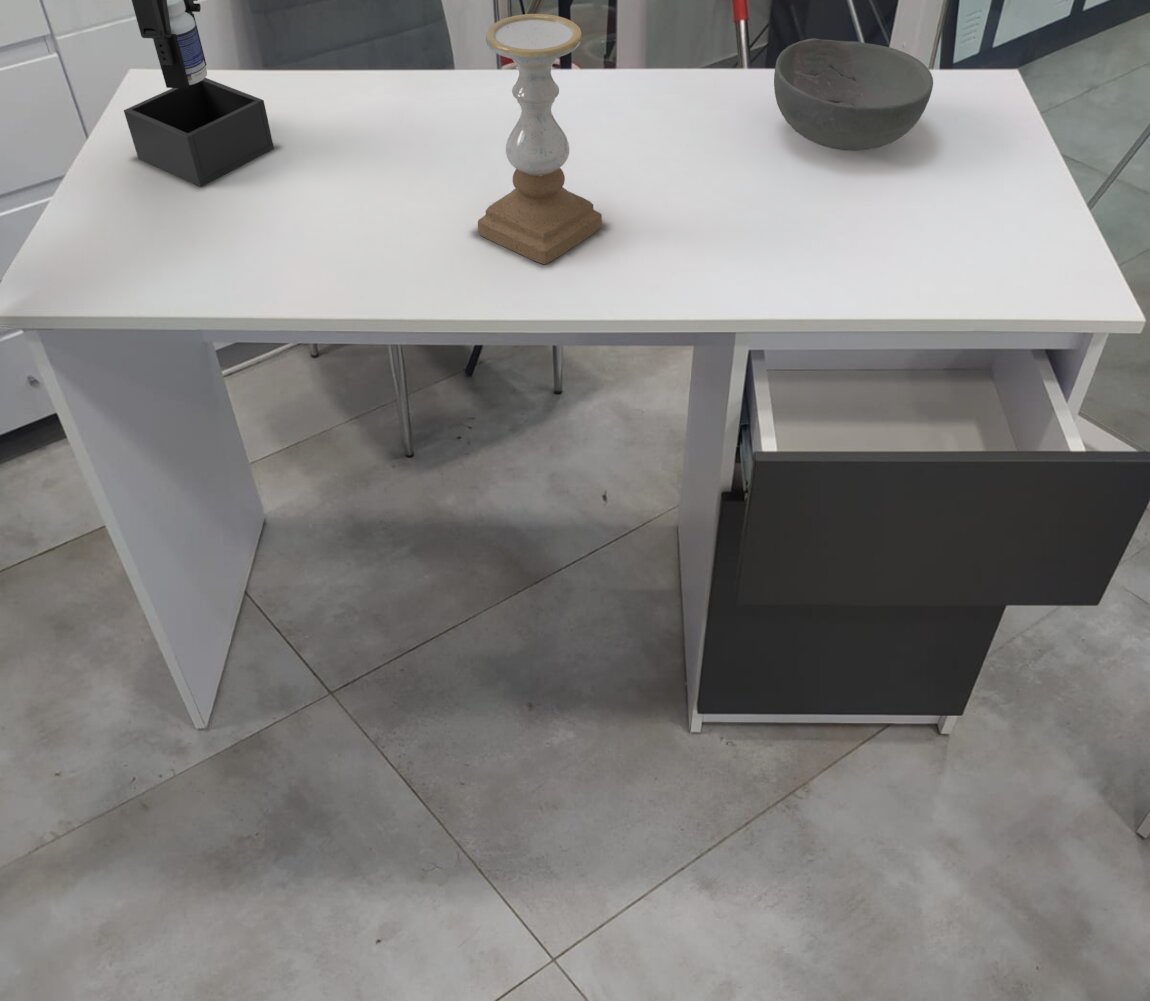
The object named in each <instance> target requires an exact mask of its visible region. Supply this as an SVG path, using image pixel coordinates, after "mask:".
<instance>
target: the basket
mask: <svg viewBox="0 0 1150 1001" xmlns="http://www.w3.org/2000/svg"><path fill="white" fill-rule="evenodd" d="M123 113H124V117H125V120H126V122H127V126H128V129H129V134H130V136H131V139H132V143H133V145H134V146H133V147H134V149H135V152H136V156H137V159H138V160H140V161H142V162H144V163H147V164H149V165H151V166H153V167H155V168H158V169H160V170H162V171H164V172H167V173H169V174H170V175H174V176H176V177H178V178H180V179H182V180H184V181H186V182H189V183H191V184H193V185H195V186H198V187H199V188H201V187H204V186H206V185H208V184H209V183H212V182H213V181H215V180H216V179H219V178H221V177H223V176H224V175H226V174H228V173H230V172H232V171H234V170H235V169H238V168H240V167H242V166H243V165H246V164H247V163H249V162H251V161H253V160H255V159H257V158H259V157H261V156H263V155H265V154H267V153H268V152H271V151H272V150H274V149H275V146H274V143H273V137H272V132H271V128H270V123H269V119H268V113H267V108H266V105H265V100H264V99H262V98H259V97H257V96H255V95H251V94H249V93H246V92H245V91H241V90H239V89H236V88H233V87H231V86H228V85H225V84H223V83H221V82H217V81H215V80H212V79H210V78H207V77H205V78H204V79H203V80H202V81H200V82H198V83H195V84H192V85H189V87H188V89H184V88H169V89H166V90H165V91H163V92H161V93H158V94H157V95H154V96H152V97H150V98H148V99H146V100H143V101H141V102H139V103H136V104H134V105H132V106H130V107H128V108H126V109H125V108H124V109H123Z"/></svg>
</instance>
